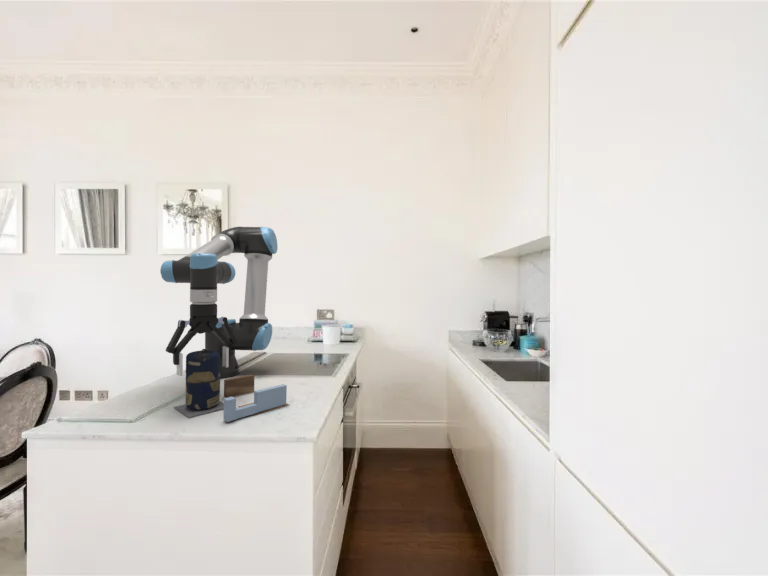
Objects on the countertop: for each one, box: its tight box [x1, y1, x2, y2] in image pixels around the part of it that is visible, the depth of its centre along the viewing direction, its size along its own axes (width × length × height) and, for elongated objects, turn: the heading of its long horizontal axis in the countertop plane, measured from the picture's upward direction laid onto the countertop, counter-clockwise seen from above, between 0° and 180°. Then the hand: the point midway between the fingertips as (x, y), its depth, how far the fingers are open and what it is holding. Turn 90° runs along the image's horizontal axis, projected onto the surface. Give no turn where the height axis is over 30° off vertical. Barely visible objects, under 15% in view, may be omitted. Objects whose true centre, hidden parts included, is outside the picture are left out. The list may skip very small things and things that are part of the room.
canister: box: [185, 348, 221, 410], centre depth 106 cm, size 10×10×18 cm
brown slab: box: [223, 374, 290, 416], centre depth 113 cm, size 23×12×6 cm, turn 49°
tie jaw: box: [223, 383, 288, 423], centre depth 102 cm, size 3×19×6 cm, turn 139°
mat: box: [173, 400, 224, 419], centre depth 106 cm, size 12×12×1 cm
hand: (203, 370), depth 106 cm, fingers open, 13 cm apart
